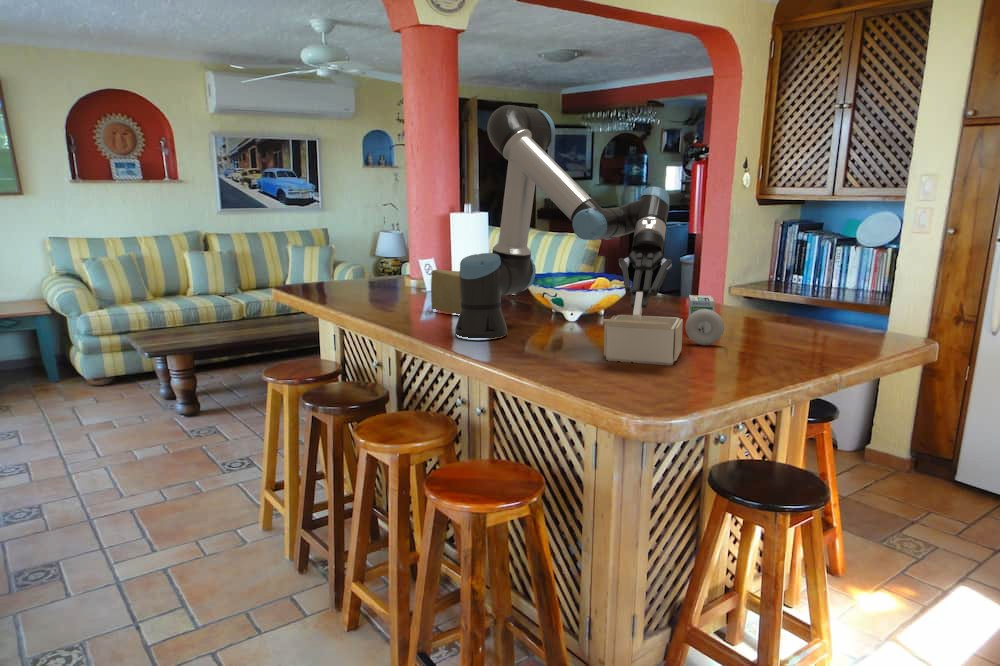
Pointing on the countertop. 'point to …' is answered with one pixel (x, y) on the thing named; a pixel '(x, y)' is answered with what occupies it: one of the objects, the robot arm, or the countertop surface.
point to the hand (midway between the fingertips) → (636, 317)
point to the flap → (637, 324)
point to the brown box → (446, 291)
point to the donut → (709, 317)
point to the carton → (644, 342)
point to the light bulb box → (701, 303)
